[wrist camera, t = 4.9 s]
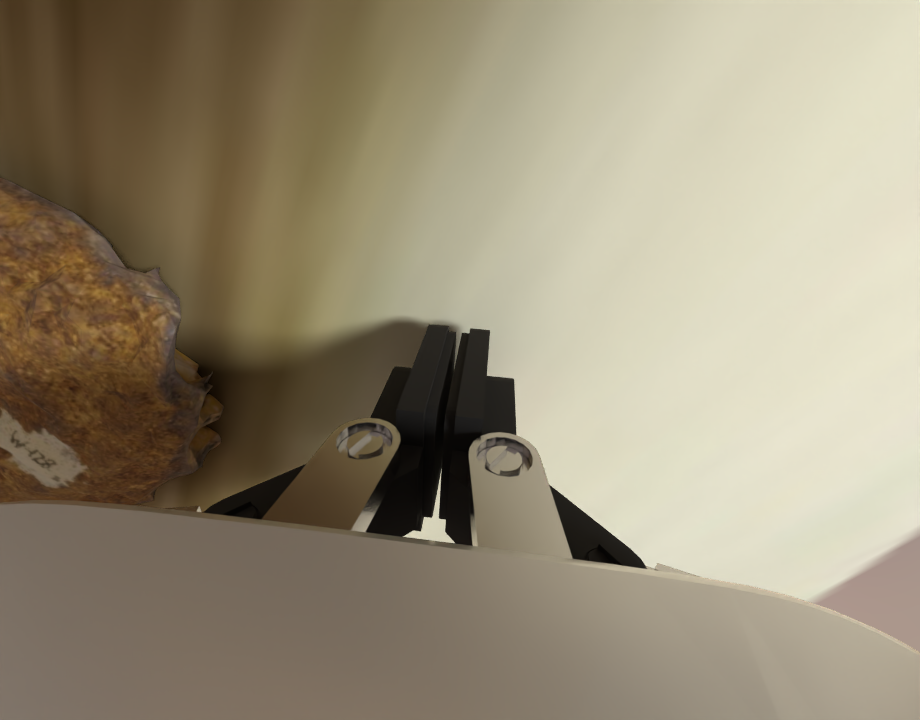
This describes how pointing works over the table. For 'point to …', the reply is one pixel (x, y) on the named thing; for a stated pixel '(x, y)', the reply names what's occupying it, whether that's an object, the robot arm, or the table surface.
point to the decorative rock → (89, 366)
